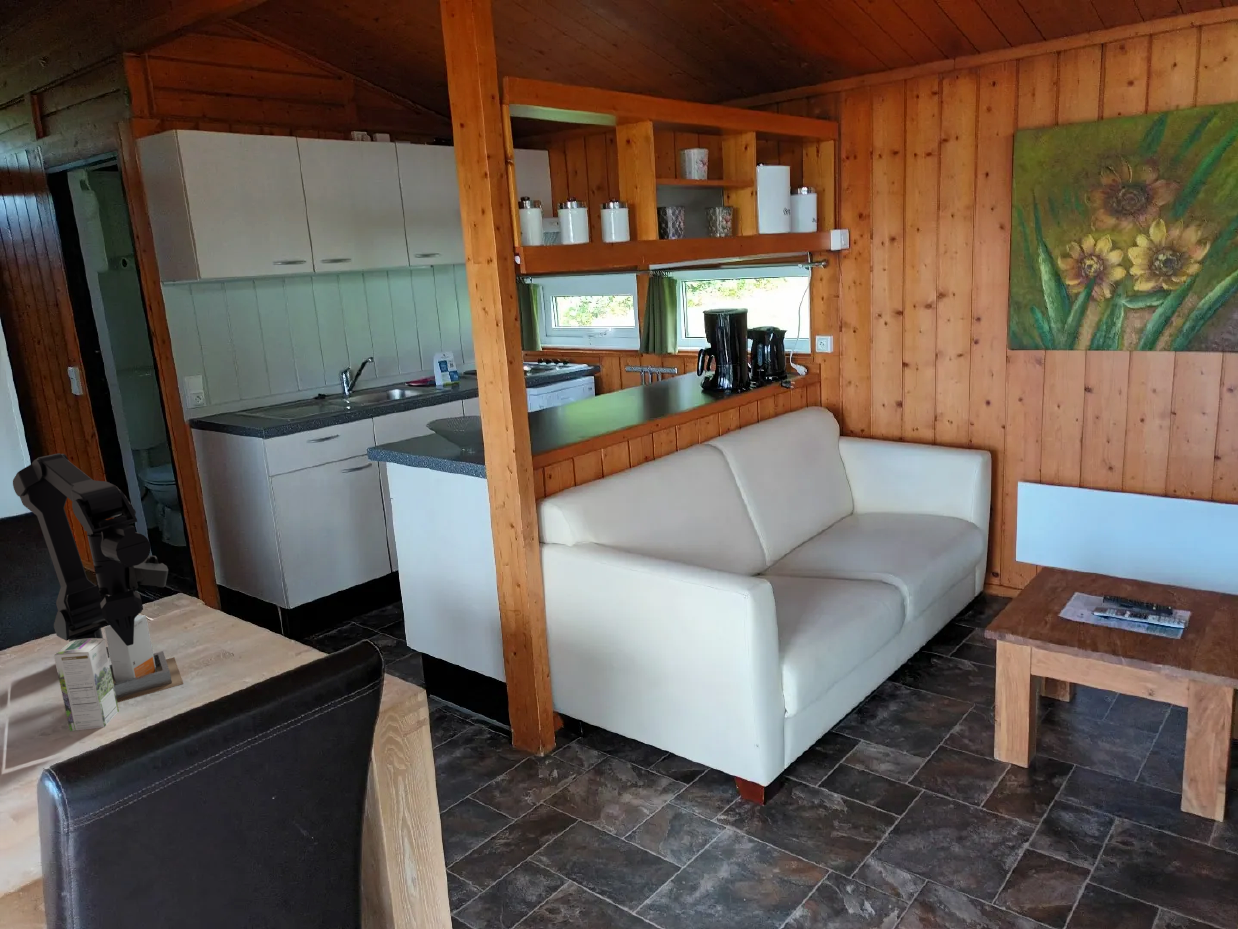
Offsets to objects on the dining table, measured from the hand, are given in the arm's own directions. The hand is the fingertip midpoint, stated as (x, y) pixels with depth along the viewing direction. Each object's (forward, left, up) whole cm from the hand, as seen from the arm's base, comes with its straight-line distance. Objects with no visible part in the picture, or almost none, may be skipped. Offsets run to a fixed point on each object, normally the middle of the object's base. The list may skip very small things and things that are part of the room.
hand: (128, 636), depth 168 cm
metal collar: (0, 0, -9) cm, 9 cm away
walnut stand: (0, 0, -10) cm, 10 cm away
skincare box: (0, 0, -9) cm, 9 cm away
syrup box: (+12, -7, -10) cm, 17 cm away
